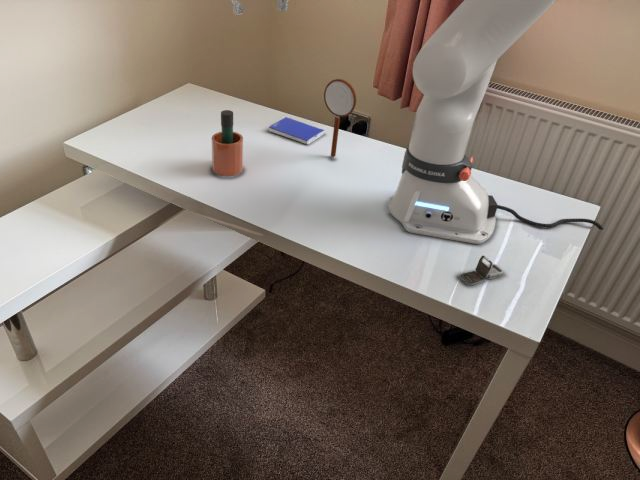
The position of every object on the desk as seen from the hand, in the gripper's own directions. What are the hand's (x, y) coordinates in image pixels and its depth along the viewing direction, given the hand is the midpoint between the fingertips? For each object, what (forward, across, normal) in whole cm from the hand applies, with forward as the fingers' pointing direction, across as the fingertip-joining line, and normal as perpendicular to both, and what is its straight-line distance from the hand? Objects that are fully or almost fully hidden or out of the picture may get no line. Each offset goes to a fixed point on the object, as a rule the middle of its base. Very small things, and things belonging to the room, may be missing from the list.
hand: (260, 12), depth 114 cm
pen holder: (+36, -5, +3) cm, 37 cm away
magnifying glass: (+36, +21, 0) cm, 42 cm away
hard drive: (+36, +19, +16) cm, 44 cm away
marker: (+36, -5, +3) cm, 36 cm away
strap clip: (+35, +26, -51) cm, 67 cm away
